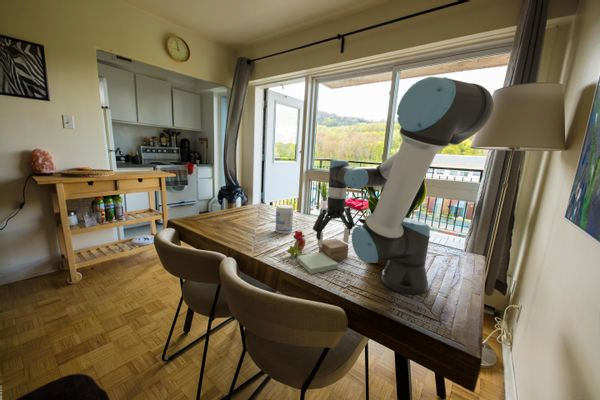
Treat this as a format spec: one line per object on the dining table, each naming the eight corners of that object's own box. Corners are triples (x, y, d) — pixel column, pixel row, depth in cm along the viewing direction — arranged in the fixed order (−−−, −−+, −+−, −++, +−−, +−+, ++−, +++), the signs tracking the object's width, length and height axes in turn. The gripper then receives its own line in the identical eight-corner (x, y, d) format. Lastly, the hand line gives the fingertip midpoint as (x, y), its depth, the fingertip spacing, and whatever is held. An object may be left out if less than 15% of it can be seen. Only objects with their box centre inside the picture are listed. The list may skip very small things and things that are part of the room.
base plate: (337, 268, 95) (337, 263, 95) (310, 273, 90) (310, 268, 90) (321, 256, 106) (322, 252, 106) (297, 260, 101) (297, 256, 100)
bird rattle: (293, 255, 111) (283, 253, 104) (300, 231, 113) (290, 228, 105) (305, 258, 108) (296, 257, 100) (311, 234, 110) (302, 231, 102)
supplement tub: (272, 232, 135) (272, 206, 132) (279, 228, 143) (280, 203, 140) (288, 235, 131) (289, 208, 128) (295, 230, 140) (295, 205, 137)
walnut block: (347, 258, 106) (348, 245, 104) (330, 262, 101) (331, 248, 100) (334, 250, 113) (335, 238, 112) (318, 253, 109) (319, 241, 108)
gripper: (354, 193, 111) (350, 237, 115) (306, 196, 100) (303, 244, 105) (365, 197, 104) (361, 243, 109) (315, 200, 94) (312, 251, 98)
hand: (333, 244), depth 107 cm, fingers open, 13 cm apart
